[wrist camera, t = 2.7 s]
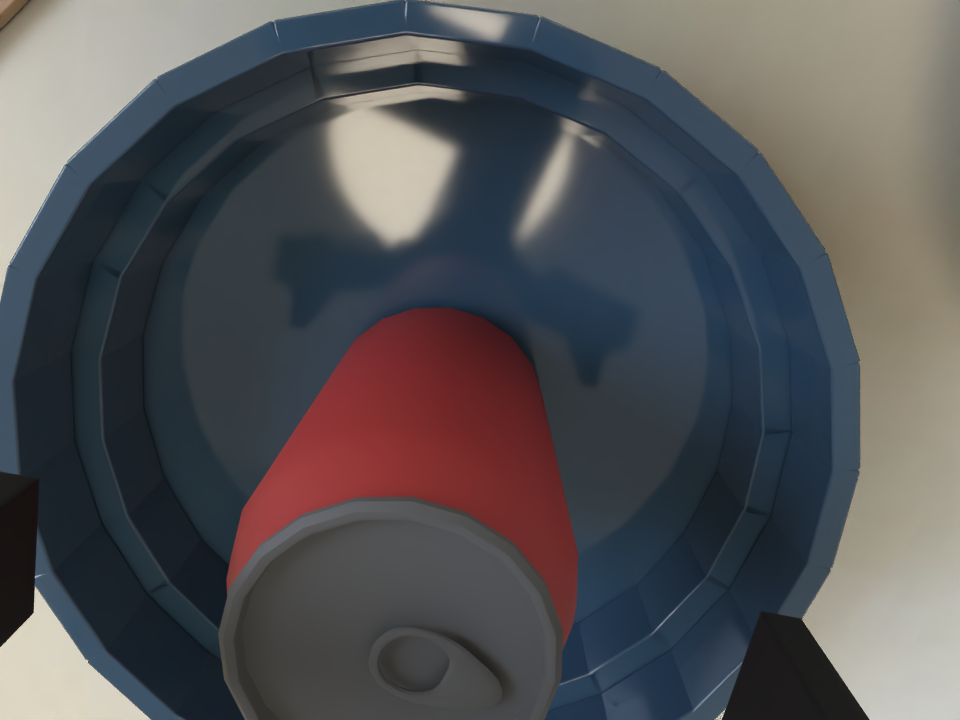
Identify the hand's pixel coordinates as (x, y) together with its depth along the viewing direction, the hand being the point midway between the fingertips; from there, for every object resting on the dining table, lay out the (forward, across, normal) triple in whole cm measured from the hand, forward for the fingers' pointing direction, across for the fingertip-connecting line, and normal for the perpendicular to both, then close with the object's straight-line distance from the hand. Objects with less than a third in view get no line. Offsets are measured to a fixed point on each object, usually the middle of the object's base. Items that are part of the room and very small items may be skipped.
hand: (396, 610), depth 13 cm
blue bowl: (+11, 0, 0) cm, 11 cm away
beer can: (+11, 0, 0) cm, 11 cm away
